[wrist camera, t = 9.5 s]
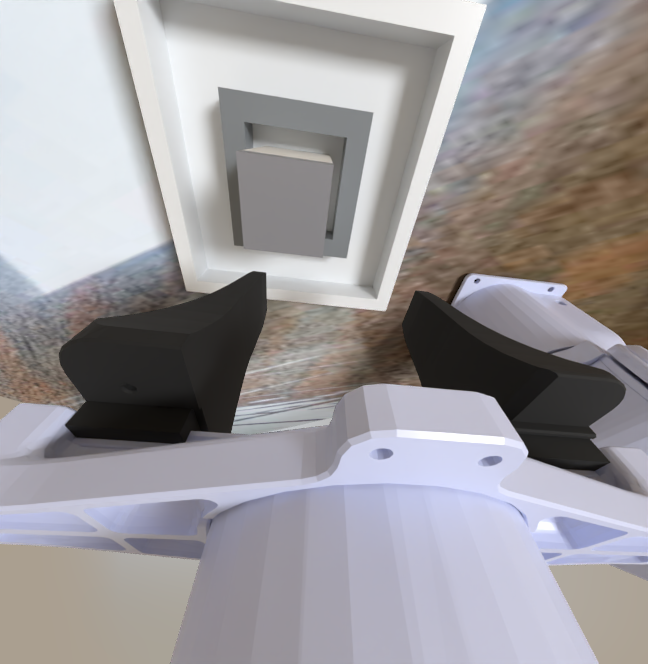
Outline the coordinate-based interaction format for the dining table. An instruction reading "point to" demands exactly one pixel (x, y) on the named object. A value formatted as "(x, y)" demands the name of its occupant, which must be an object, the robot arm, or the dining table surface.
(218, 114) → the inlet box
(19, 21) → the dining table surface
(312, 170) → the connector plug
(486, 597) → the robot arm
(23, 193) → the dining table surface
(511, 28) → the dining table surface
